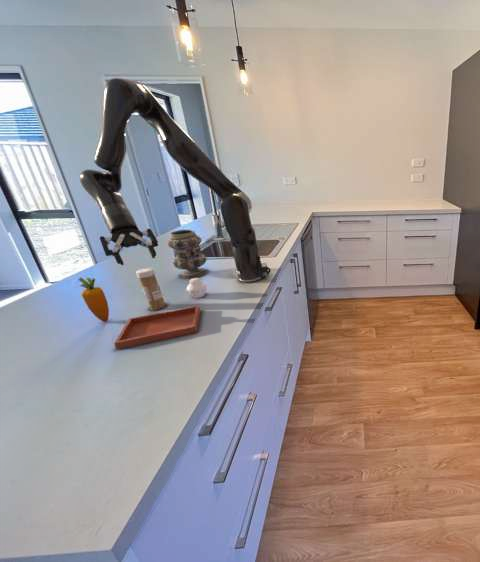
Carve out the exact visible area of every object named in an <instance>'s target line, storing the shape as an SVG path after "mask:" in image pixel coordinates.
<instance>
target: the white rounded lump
mask: <svg viewBox="0 0 480 562" xmlns="http://www.w3.org/2000/svg"><path fill="white" fill-rule="evenodd" d="M207 287H208V285H207V284H206V282H204V281H202V280H201V279H200V278H199V277H193V278H190V280H189V282H188V285H187V287H186V291H187V293H188V294H190V295H191V297H193V298H194V299H200V298H203V297H204V296H205V295H206V291H207Z"/></svg>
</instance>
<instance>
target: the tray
mask: <svg viewBox="0 0 480 562" xmlns="http://www.w3.org/2000/svg"><path fill="white" fill-rule="evenodd" d="M200 315H201V308H200V305H195V306H189V307H184V308H179V309H178V308H177V309H174V310H173V309H172V310H168V311H162V312H158V313H157V312H156V313H152V314H147V315H142V316H136V317H131V318H128V320H127V321H126V322H125V325H124V326H123V328H122V330H121V331H120V333H119V335H118V336H117V338H116V339H115V341H114V346H115V348H116V350H121V349H126V348H130V347H135V346H139V345H144V344H150V343H154V342H159V341H163V340H167V339H171V338H176V337H181V336H182V337H183V336H185V335H191V334H195V333H197V331H198V327H199V326H198V325H199V322H200Z"/></svg>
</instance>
